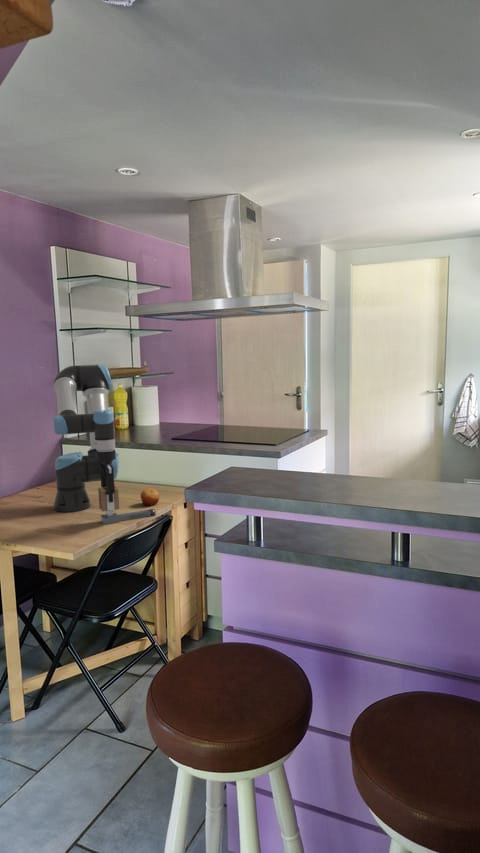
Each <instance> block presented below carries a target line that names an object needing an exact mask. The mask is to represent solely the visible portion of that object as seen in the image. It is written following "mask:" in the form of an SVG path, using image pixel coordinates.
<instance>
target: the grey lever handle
mask: <svg viewBox="0 0 480 853" xmlns="http://www.w3.org/2000/svg"><path fill="white" fill-rule="evenodd" d="M156 512H157V511H156V509H153V508H150V509H144V510H138V511H132V512H126V513H125V512H124V513H117V512H114V510H110V511H105V514H100V522H101V524H103V525H104V526H105V525H111V524H116V523H120V522H123V521H130V520H136V519H142V518H148V517H149V518H150V517H155V516H156V515H157V514H156Z"/></svg>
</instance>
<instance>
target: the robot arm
mask: <svg viewBox="0 0 480 853" xmlns="http://www.w3.org/2000/svg"><path fill="white" fill-rule="evenodd" d="M53 390H54V392H55V394H56V401H57V402H56V404H57V415H54V416H53V420H52V421H53V429H54V434H55V435H64V436H66V435H72V434H75V435H77V434H87V433H89V441H90V448H89V449H88V451H87V454H85V455H84V453H83V452H80V451H78V452H77V451H76V452H75V451H74V452H70V453H66V454H62V455H60V456H58V457H57V458H56V459H55V461H54V466H55V467H54V470H55V477H56V478H55V479H56V480H55V482H56V495H55V498H54V502H53V509H54V511H56V512H61V513H67V512H69V513H71V512H79V511H82V510H85V509H87V508H89V507H91V500H90V497H89V494H88V492H87V490H86V484H85V483H94V482H100V488H102V487H106V489H107V493H105V495H106V497H107V510H108V511H109V510H113V511H115V505H114V493H115V487H116V485H115V480H116V479H117V478H118V473H119V464H120V463H119V462H120V461H119V460H120V459H119V458H120V457H119V454H120V453H118V452H116V450H115V449H116V437H115V418H114V412H113V410H112V409H108V406H107V405H108V404H107V395H108V394H109V393H110V390H112V379H111V375H110V371H109V369H108V367H107V366H106V365H105V364H90V365H89V364H87V365H70V366H66V367H64V368H63V369H62V370H60V371H59V372H58V373H57V375H56V376H55V378H54V380H53ZM76 392H82V396H83V397H84V398H86V409H87V413H79V414H78V408H77V407H78V406H77V399H76Z"/></svg>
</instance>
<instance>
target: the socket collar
mask: <svg viewBox="0 0 480 853" xmlns="http://www.w3.org/2000/svg"><path fill="white" fill-rule="evenodd" d="M97 493H98V504H99V505H98V507H99V510H100V511H101V512H106V511H108V510H107V497H106V495H105V493H107V489H106V487H98V488H97ZM119 496H120V495H119V489H118V488H117V487H116V486H115V493H114V505H115V510H116V511H117V510H120V499H119V498H120V497H119ZM115 510H114V511H115ZM109 511H110V510H109Z"/></svg>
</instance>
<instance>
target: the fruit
mask: <svg viewBox="0 0 480 853" xmlns="http://www.w3.org/2000/svg"><path fill="white" fill-rule="evenodd" d="M140 500H141V504H142V505H146V506H148V507H149V506H153V505H155V504H157V503H159V501H160V493H159V491H158V490H156V489H154V488H152V487H148V488H145V489H143V490H142V491H141V493H140Z"/></svg>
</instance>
